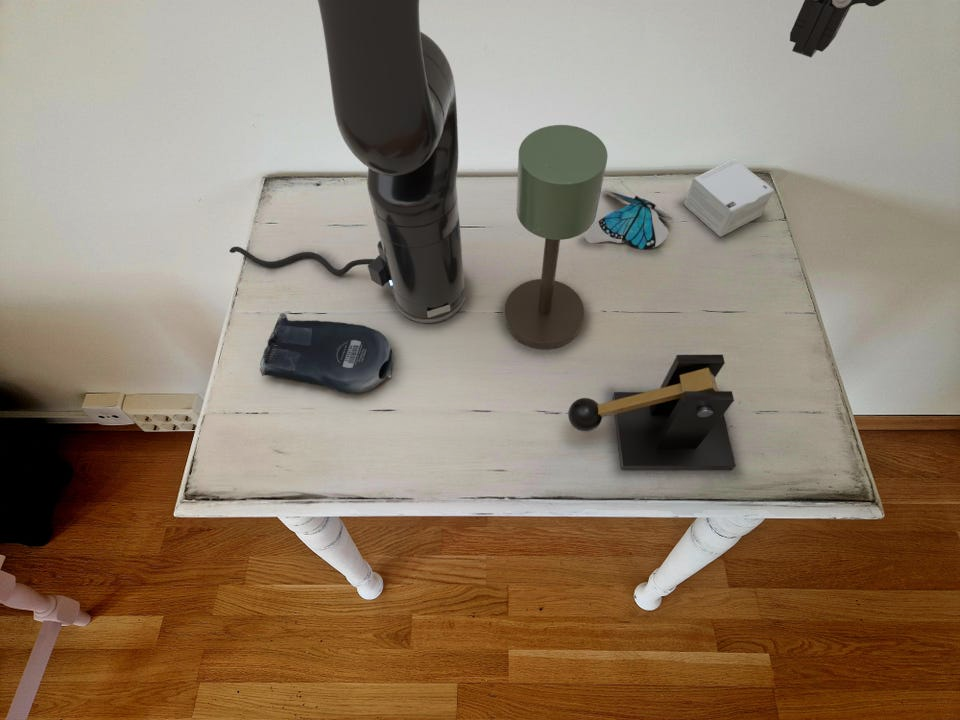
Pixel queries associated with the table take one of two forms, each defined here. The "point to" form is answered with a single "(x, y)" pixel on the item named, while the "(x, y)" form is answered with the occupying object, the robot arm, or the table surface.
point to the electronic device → (328, 354)
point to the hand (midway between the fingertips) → (806, 49)
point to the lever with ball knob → (637, 400)
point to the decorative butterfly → (631, 224)
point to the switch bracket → (678, 425)
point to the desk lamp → (554, 227)
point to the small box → (727, 197)
